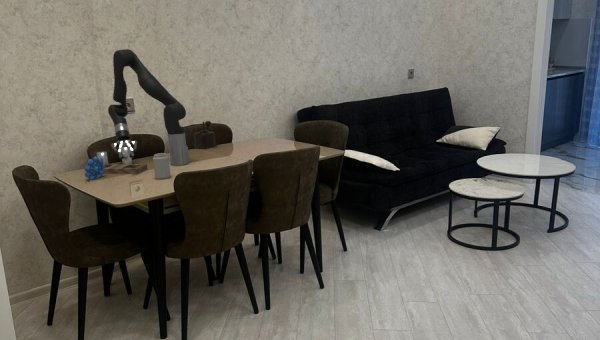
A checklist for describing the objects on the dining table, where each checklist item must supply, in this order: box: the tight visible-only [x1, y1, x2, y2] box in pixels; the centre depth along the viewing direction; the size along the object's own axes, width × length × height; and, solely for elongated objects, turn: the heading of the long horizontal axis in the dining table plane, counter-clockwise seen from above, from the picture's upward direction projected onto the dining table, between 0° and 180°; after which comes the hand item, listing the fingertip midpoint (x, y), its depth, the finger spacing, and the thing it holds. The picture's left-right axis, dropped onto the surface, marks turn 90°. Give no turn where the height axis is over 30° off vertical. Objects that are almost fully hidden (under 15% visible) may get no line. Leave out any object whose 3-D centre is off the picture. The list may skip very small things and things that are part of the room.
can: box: [152, 152, 171, 180], centre depth 254 cm, size 8×8×12 cm
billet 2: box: [120, 146, 133, 164], centre depth 281 cm, size 5×5×10 cm
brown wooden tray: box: [102, 163, 149, 176], centre depth 269 cm, size 28×11×4 cm, turn 78°
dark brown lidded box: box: [192, 120, 217, 150], centre depth 327 cm, size 16×11×18 cm
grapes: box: [84, 155, 105, 181], centre depth 255 cm, size 12×7×12 cm, turn 146°
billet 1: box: [96, 151, 110, 168], centre depth 270 cm, size 5×5×10 cm
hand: (127, 157), depth 280 cm, fingers closed on billet 2, 5 cm apart
